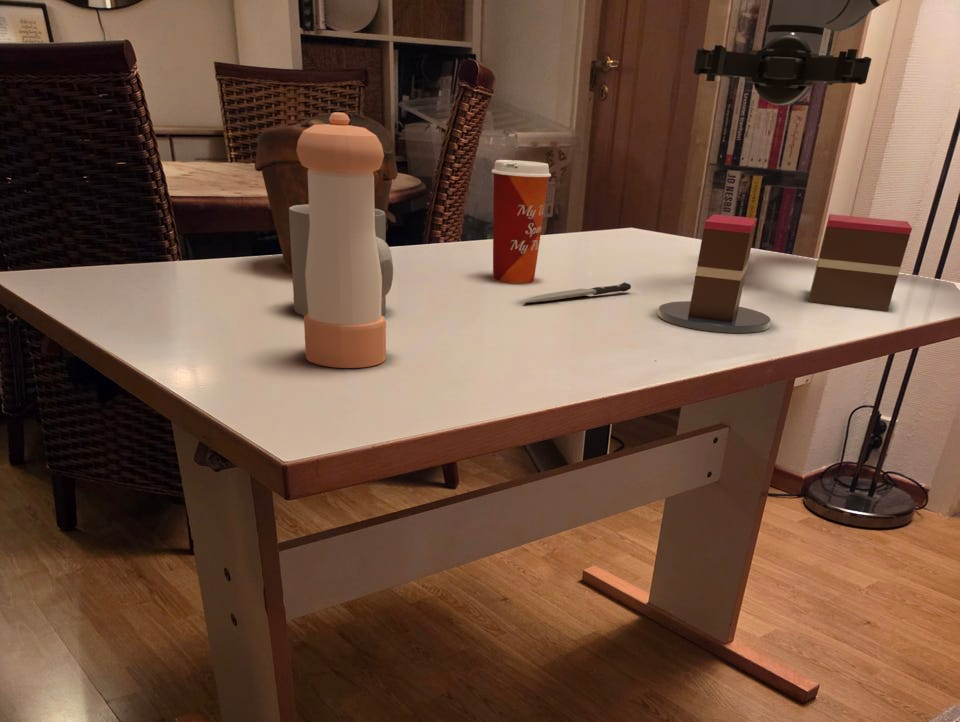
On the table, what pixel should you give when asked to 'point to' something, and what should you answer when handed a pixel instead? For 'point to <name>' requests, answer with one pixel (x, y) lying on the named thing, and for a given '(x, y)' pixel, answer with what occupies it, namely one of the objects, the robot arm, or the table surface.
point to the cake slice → (722, 267)
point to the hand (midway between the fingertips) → (776, 62)
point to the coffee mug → (300, 247)
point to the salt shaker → (342, 246)
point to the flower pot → (291, 178)
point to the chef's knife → (580, 292)
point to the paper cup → (517, 218)
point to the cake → (859, 261)
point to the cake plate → (741, 323)
